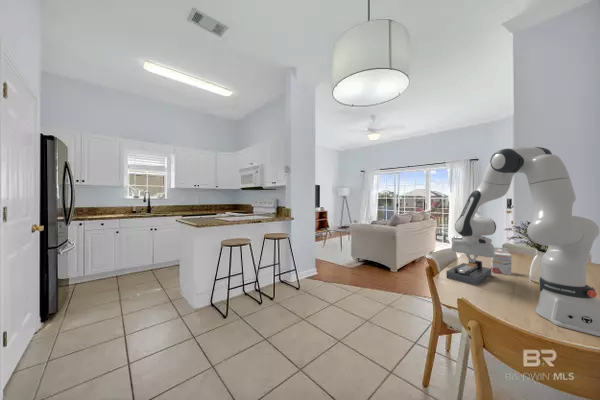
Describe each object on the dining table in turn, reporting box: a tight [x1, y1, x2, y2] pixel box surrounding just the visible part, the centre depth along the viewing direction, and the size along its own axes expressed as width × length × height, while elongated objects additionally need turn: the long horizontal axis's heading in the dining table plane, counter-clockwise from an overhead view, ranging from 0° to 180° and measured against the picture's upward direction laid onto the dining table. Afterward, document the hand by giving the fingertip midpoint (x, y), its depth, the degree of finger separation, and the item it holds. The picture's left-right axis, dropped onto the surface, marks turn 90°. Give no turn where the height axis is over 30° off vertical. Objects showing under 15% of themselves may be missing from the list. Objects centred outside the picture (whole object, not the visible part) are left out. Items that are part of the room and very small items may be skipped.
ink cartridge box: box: [490, 246, 513, 276], centre depth 133 cm, size 9×5×15 cm, turn 58°
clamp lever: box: [457, 262, 478, 274], centre depth 127 cm, size 4×19×2 cm, turn 125°
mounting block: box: [446, 259, 492, 287], centre depth 128 cm, size 14×24×8 cm, turn 125°
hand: (472, 261), depth 130 cm, fingers closed
